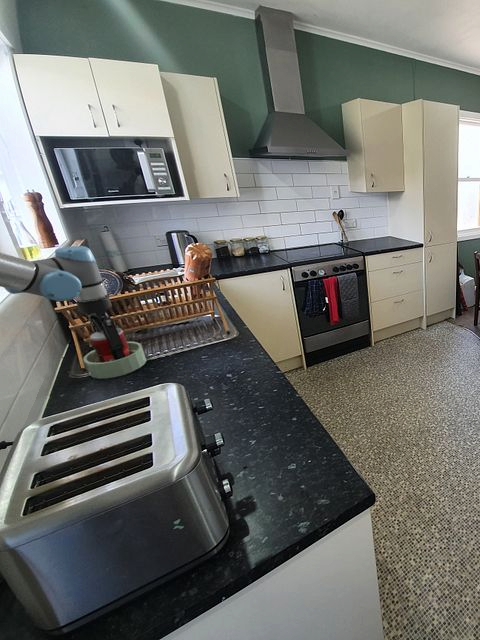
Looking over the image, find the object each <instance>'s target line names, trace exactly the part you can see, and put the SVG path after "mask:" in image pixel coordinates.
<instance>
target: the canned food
mask: <svg viewBox="0 0 480 640" xmlns="http://www.w3.org/2000/svg"><path fill="white" fill-rule="evenodd" d="M116 329H117V331H118V334H119V336H120V338H121V341H122V343H123V345H124V348H122V349H123V352H124V354H125V357H127V356H129V355H131V352H130V349H129V347H128V344H127V342H128V341H127V339H126V335H125V333H124V330H123V329H122V328H120V327H116ZM89 339H90V341H91V344H92V346H93V350H95V351H96V353H97V356H98V358H99V360H100V363H103V362H110V361H114V358H113V355H112V353H111V352H110V351H109V350H110V349H111V347H110V345H109V343H108V341H107V339H106V337H105V336H104V334H103V332H102V331H101V332H95V333H94V332H93V333H92V334H91V335H90V336H89Z"/></svg>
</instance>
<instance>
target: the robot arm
mask: <svg viewBox="0 0 480 640" xmlns="http://www.w3.org/2000/svg"><path fill="white" fill-rule="evenodd" d="M54 253H55V256H52V257H49V258H43V259H36V260H27V259H24V258H20V257H18V256H17V257H16V256H13V255H10V254H7V253H3V252H0V287H1V288H4V290H6V292H7V293H9V294H12V295H18V294H24V293H25V294H30V295H35V296H39V297H43V298H45V299H47V300H50V301H56V302H67V301H71V300H73V299H74V300H75V301H76V303H75V304H76V307H77V308H78V312H80V313H81V314H84V315H86V316H87V317H88V320H89V323H90V327H91V328H92V331H93V333H95V332H101V331H102V332H103V334H104V336H105V337H106V339H107V341H108V343H109V345H110V347H111V349H110V350H109V351H110V352H111V353H112V355H113V358H114V360H118V359H121V358H124V357H125V354H124V352H123V349H122V348H124V345H123V343H122V341H121V338H120V336H119V334H118V331H117V329H116V328H117V327H116V324H115V319H113V318H112V317H111V315H110V314H109V313H107V311H108V310H110V309H111V308H112V307H113V304H112V301H111V298H110V296H109V295H108V291H107V289H106V288H107V287H108V285H107V284H106V283H104V280H103V279H102V276H101V273H100V269H99V267H98V264H97V260H96V258H95V256H94V254H93V252H92V251H91V249H90V248H89V247H88V246H84V245H72V246H71V245H70V246H63V247H58V248H56V249H55V250H54Z"/></svg>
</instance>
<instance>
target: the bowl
mask: <svg viewBox="0 0 480 640" xmlns="http://www.w3.org/2000/svg"><path fill="white" fill-rule="evenodd" d="M127 344H128V347H129V349H130V352H131V355H129V356H127V357H124V358H121V359H118V360H114V361H110V362H103V363H100V360H99V358H98V356H97V353H96V351H95V349H93V350H91V351H90V352H88V353H86V355H85V356H83V361H82V362H84V365H85V368H86V370H87V372H88V374H89V376H90V377H91V378H93V379H102V380H103V379H113V378H118V377H121V376H125V375H127V374H130V373H132V372H135V371H136V370H138V369H140V368H141V367H143V366H144V365H145V364H146V363H147V357H146V354H145V351H144V349H143V345H142V344H141V343H139V342H137V341H127Z"/></svg>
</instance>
